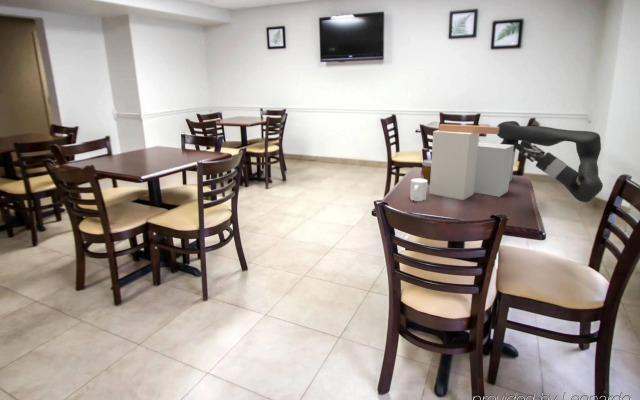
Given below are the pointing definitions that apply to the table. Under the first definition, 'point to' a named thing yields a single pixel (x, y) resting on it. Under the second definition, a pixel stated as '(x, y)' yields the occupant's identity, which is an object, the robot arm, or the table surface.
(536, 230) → the table surface
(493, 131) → the terracotta bar
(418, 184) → the mug
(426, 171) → the disposable coffee cup
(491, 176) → the stepped stand
